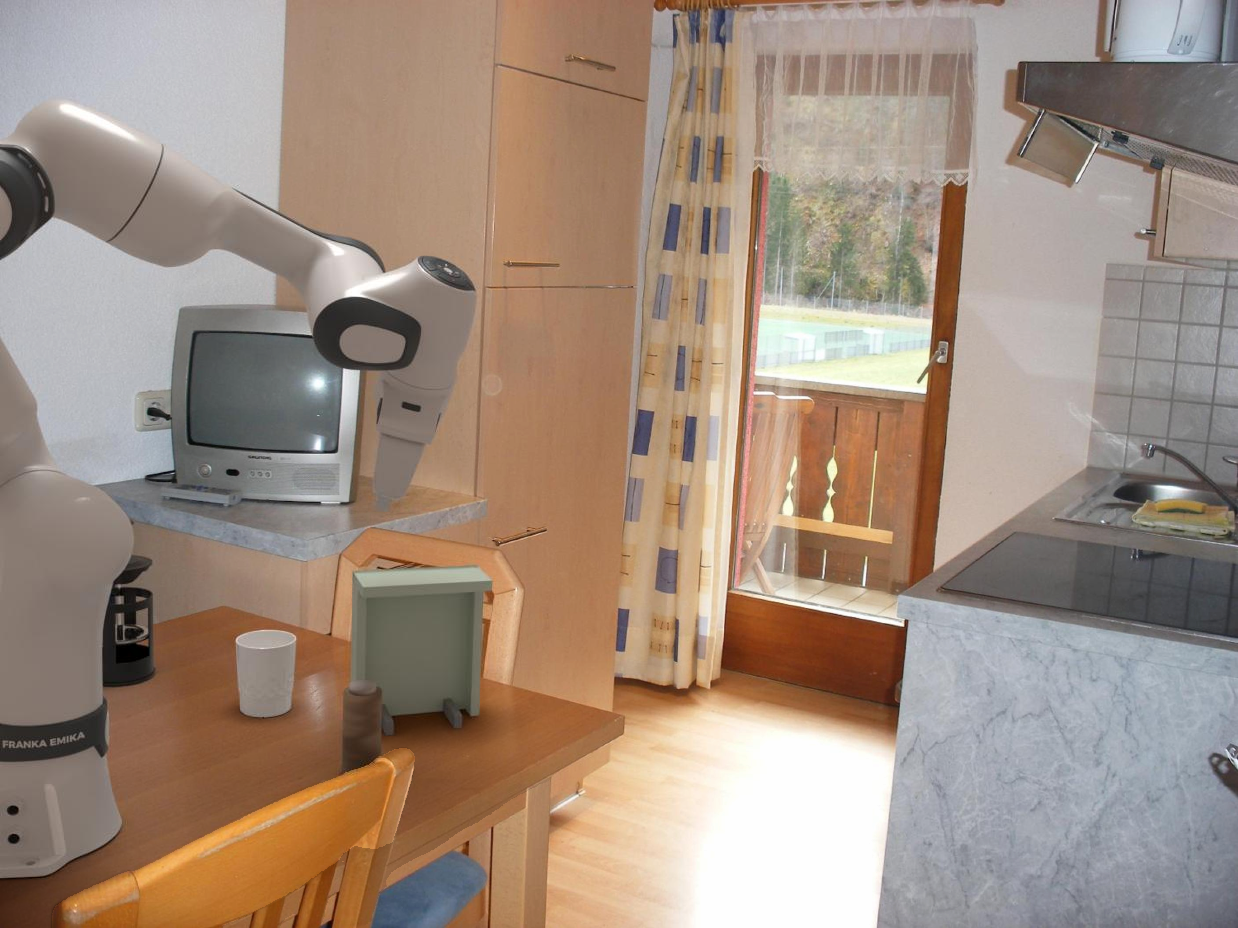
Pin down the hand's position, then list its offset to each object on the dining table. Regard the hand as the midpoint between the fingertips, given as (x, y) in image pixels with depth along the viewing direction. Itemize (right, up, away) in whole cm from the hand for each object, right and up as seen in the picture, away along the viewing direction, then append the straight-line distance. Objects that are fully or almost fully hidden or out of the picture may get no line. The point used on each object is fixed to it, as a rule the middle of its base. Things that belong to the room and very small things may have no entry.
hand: (385, 485), depth 144 cm
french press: (-44, -28, +26) cm, 58 cm away
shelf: (+2, -32, +15) cm, 36 cm away
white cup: (-20, -31, +17) cm, 41 cm away
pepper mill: (-3, -35, -1) cm, 35 cm away
